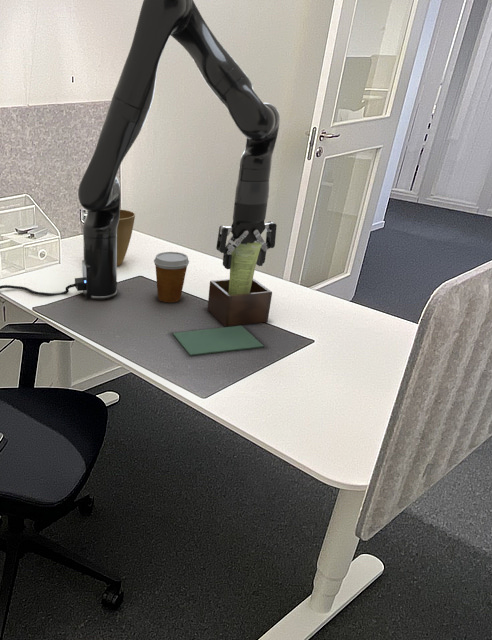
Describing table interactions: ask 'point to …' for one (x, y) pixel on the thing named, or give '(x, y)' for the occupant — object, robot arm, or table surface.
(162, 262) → the disposable coffee cup
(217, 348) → the felt mat
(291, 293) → the table surface
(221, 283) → the box
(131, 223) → the plant pot
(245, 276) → the tube
